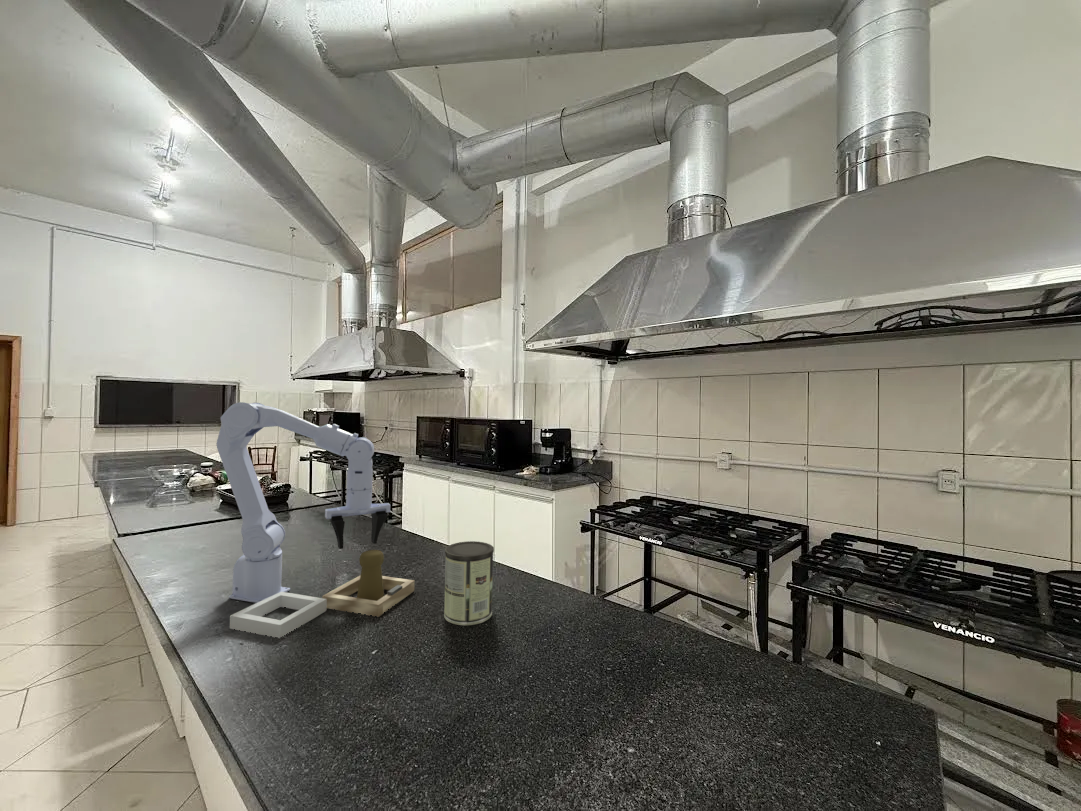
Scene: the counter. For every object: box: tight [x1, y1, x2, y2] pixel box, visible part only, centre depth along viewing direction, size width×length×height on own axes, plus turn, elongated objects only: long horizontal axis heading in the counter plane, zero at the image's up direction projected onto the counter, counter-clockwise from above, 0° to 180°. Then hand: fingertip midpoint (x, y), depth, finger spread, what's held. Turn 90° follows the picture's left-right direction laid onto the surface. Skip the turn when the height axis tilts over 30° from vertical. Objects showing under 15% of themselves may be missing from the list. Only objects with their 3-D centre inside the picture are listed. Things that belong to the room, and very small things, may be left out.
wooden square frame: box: [321, 574, 416, 618], centre depth 101 cm, size 14×14×3 cm
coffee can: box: [443, 540, 495, 626], centre depth 95 cm, size 10×10×14 cm
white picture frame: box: [229, 591, 328, 639], centre depth 91 cm, size 12×12×2 cm
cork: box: [356, 549, 385, 601], centre depth 101 cm, size 6×6×11 cm
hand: (357, 545), depth 107 cm, fingers open, 7 cm apart
